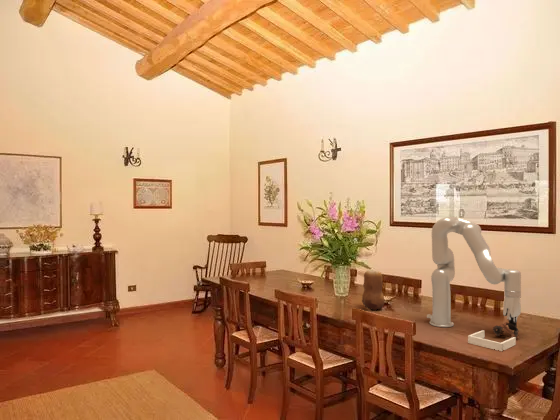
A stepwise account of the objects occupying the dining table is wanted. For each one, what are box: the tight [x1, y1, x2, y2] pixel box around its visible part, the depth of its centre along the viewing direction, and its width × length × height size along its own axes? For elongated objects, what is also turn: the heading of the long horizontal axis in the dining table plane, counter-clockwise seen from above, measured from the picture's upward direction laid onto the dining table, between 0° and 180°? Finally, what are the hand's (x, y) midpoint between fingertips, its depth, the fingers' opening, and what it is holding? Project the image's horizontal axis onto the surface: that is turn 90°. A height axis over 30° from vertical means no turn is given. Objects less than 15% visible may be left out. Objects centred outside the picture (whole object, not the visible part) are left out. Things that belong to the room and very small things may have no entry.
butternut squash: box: [361, 269, 385, 311], centre depth 284 cm, size 14×13×25 cm
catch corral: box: [467, 329, 517, 352], centre depth 214 cm, size 16×14×4 cm
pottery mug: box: [492, 322, 519, 339], centre depth 223 cm, size 12×9×8 cm
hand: (512, 329), depth 228 cm, fingers closed
